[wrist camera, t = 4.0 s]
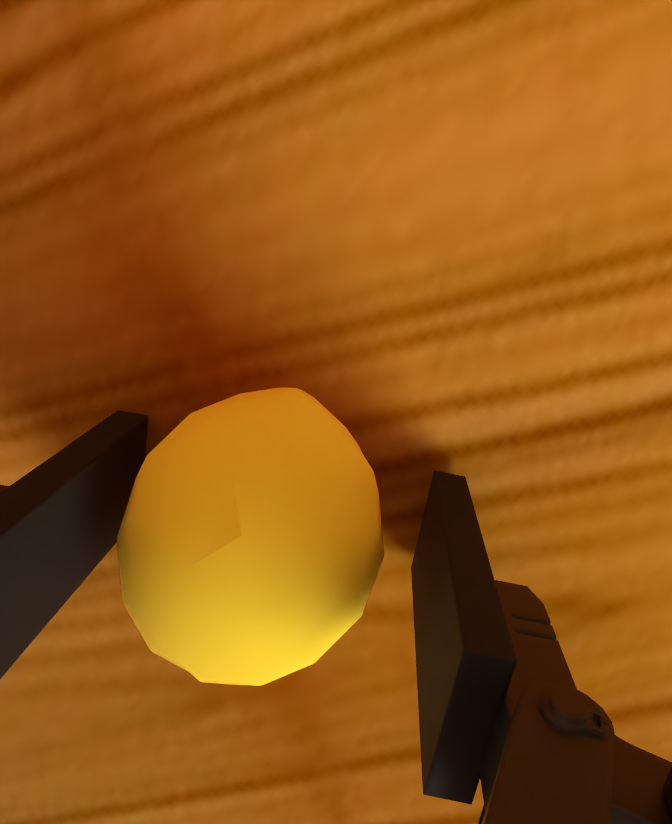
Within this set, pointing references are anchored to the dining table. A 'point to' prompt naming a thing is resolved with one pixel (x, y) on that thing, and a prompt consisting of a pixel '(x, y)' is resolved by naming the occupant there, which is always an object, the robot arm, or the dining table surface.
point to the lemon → (250, 538)
